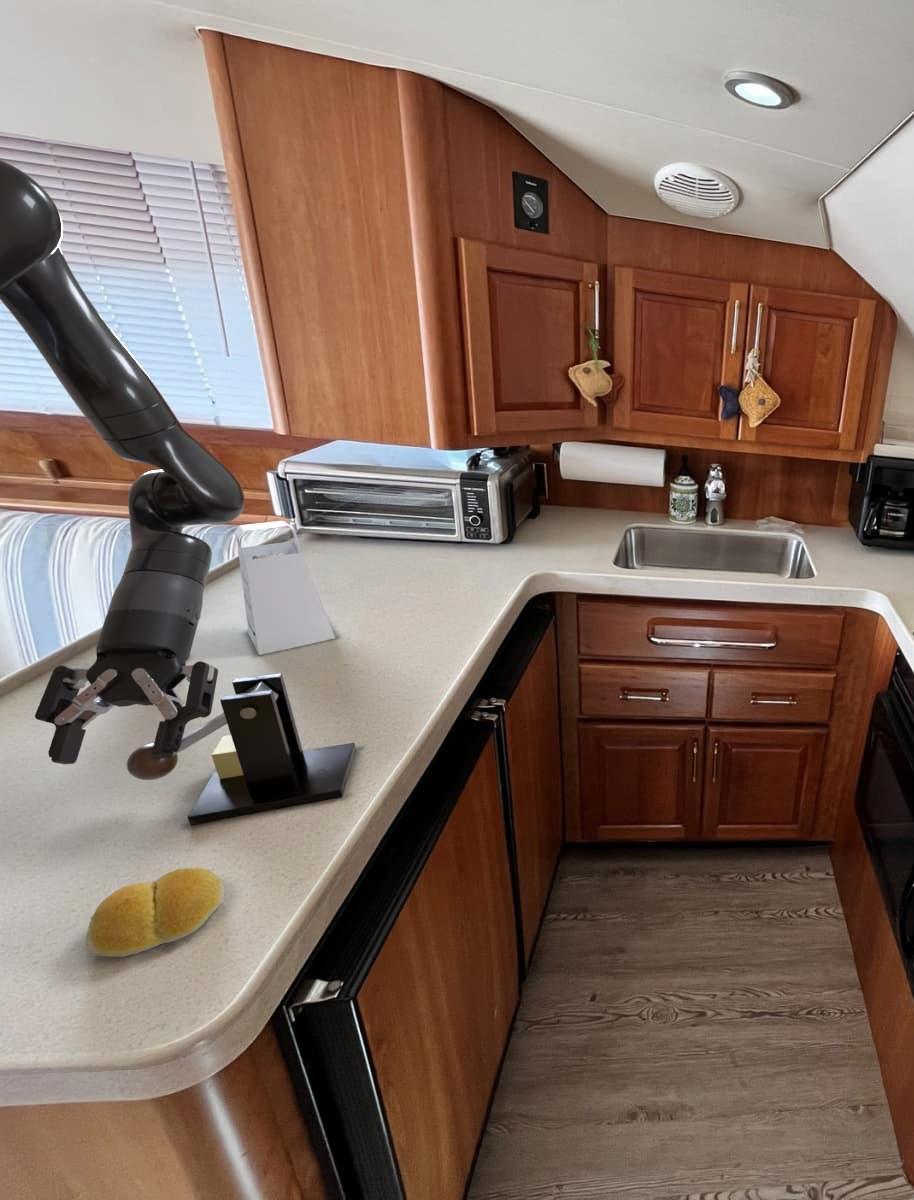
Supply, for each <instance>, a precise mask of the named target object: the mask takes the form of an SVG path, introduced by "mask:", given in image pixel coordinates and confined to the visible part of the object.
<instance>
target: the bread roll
mask: <svg viewBox="0 0 914 1200" xmlns="http://www.w3.org/2000/svg"><path fill="white" fill-rule="evenodd" d="M224 898H225V887H224V883H223V880H222V879H221V878H220V877H219V876H218V875H217V874H216V873H214V872H213V871H211V870H209V869H206V868H199V867H195V868H194V867H189V868H181V869H180V868H177V869H176V870H173V871H170V872H168V873H165V874H163V875H162V876H160V877H159V878H157V879H156V880H155V881H154V882H148V881H147V882H146V881H145V882H137V883H132V884H129V885H126V886H123V887H121V888H118V889H117V890H114V892H112V893H111V894H110V895H108V896H106V897H105V898H104V899H103V900H102V901H101V902H100V904H99V905H98V907H96V909H95V912H94V913H93V915H92V916H91V917H90V918H89V919H90V921H89V924H88V928H87V932H86V937H85V938H86V941H85V945H86V948H87V951H88V953H89V954H91V955H94V956H99V957H112V958H119V957H121V958H122V957H128V956H129V957H130V956H133V955H137V954H139V953H143V952H145V951H148V950H150V949H153V948H156V947H157V946H159V945H162V944H168V943H171V942H174V941H178V940H180V939H183V938H185V937H187V936H190V935H191V934H192V933H194V932H195V931H197V930H198V929H199V928H200V927H202V926H203V925H204V924H205V923H206V921H207V920H208V919H209V918H210V917H211V916H212V914H213V913H214V912H215V911H216V910H217V909H218V908H219V907H220V905H221V904H223V901H224Z"/></svg>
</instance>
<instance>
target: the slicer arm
mask: <svg viewBox="0 0 914 1200" xmlns="http://www.w3.org/2000/svg"><path fill="white" fill-rule="evenodd" d="M269 690H272V689H270V688H269V687H268V686H267V685H265V684H264V683H263V682H260V683H258V684H257V685H255V686H253V687H251V688H250V689H248V690H246V691H245V692H243V693H241V694H244V693H253V692H261V691H269ZM273 693H274V697H275V701H276V699H277V697H278V696H279V695H278V694H277V693H275V692H274V691H273ZM225 725H228V724H227V721H226V718H225V715H224V712H222V713H220V714H218V715H217V716H216V717H214V718H212V719H210V720H209V721H207V722H205V723H204V724H202V725H201V726H198V727H197V728H195V729H194V730H192V731H190V732H189V733H187V734H185V735H183V737H182V741H181V745H180V748H179V749H178V751H177V752H174V753H173V756H172V757H171V758H158V757H154V756H152V749H153V745H154V742H153V743H147V744H144V745H141V746H139V747H137V748H136V749H135V750H133V751H132V752H131V753H130V755H129V756H128V758H127V760H126V770H127V771H128V773H129V774H130V775H131V776H132V777H134V778H136V779H138V780H142V781H153V780H158V779H161V778H164V777H166V776H167V775H168V774H170V773H171V772H172V771H173V770H174V769H175V768H176V767H177V764H178V761H179V755H178V754H179V753H181V752H182V751H185V749H188V748H189V747H190V746H192V745H194V744H195V743H197V742H200V741H201V740H202V739H204V738H206V737H208V736H209V735H211V734H212V733H214V732H216V731H217V730H219V729H221V728H223V727H224V726H225Z"/></svg>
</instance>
